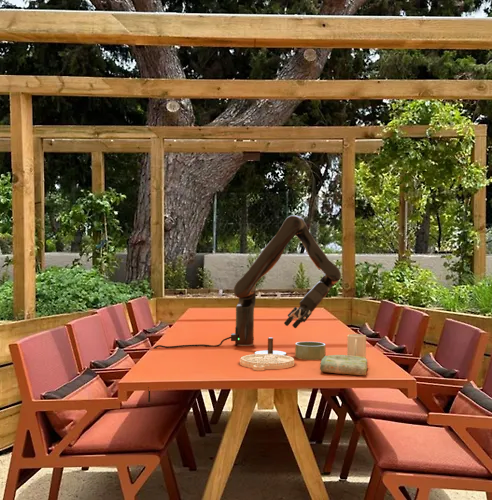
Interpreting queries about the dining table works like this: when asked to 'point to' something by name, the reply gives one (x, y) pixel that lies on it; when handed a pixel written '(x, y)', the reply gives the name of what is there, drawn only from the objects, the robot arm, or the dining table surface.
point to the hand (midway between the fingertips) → (289, 325)
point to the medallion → (266, 361)
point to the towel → (344, 364)
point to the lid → (270, 349)
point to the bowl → (310, 350)
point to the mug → (356, 345)
